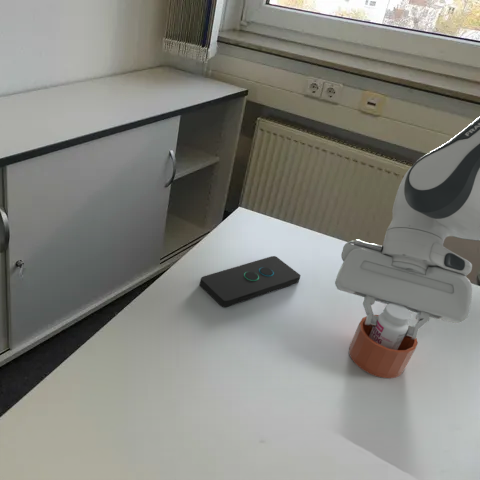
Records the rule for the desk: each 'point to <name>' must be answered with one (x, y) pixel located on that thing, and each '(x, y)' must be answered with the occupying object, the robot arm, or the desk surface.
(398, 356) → the terracotta cup
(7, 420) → the desk surface
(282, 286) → the smart home device
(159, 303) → the desk surface
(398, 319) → the pill bottle
